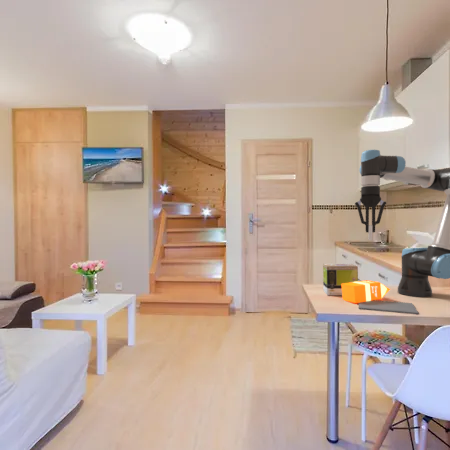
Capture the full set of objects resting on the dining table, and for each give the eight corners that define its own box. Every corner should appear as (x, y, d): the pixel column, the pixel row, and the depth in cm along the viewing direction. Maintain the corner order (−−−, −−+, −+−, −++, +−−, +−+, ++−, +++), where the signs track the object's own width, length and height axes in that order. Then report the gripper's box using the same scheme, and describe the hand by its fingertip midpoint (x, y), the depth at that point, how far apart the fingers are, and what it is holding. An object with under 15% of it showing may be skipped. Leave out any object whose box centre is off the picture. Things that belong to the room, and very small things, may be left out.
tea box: (352, 291, 174) (352, 263, 174) (358, 296, 164) (358, 266, 164) (322, 291, 175) (323, 262, 175) (326, 295, 165) (326, 265, 165)
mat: (411, 304, 148) (411, 303, 148) (418, 314, 134) (418, 312, 134) (358, 300, 156) (358, 298, 156) (358, 308, 141) (358, 307, 141)
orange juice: (354, 285, 149) (389, 280, 155) (341, 283, 157) (375, 278, 164) (355, 303, 149) (391, 297, 155) (342, 300, 157) (377, 294, 163)
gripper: (385, 186, 148) (385, 239, 149) (354, 187, 153) (354, 239, 154) (387, 184, 141) (387, 240, 142) (354, 186, 146) (354, 240, 147)
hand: (370, 239), depth 148 cm, fingers closed
